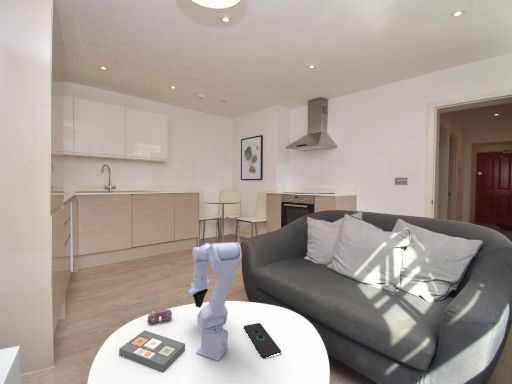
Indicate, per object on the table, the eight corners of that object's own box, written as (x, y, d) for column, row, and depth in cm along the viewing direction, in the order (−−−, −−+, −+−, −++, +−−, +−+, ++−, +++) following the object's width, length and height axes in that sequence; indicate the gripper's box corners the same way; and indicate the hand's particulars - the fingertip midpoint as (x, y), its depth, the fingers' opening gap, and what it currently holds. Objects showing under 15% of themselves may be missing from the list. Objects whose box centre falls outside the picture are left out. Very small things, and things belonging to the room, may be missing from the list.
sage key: (175, 352, 94) (175, 348, 94) (167, 360, 90) (167, 356, 90) (165, 349, 96) (165, 345, 95) (157, 356, 91) (157, 352, 91)
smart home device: (260, 322, 117) (282, 351, 98) (259, 325, 117) (281, 355, 98) (242, 325, 113) (262, 356, 95) (242, 329, 113) (261, 360, 95)
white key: (162, 345, 96) (162, 341, 96) (153, 352, 92) (153, 348, 92) (152, 342, 98) (152, 338, 97) (143, 349, 93) (143, 345, 93)
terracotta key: (149, 343, 98) (149, 339, 98) (140, 350, 94) (140, 346, 94) (139, 340, 100) (139, 336, 100) (130, 347, 95) (130, 343, 95)
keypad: (184, 350, 97) (185, 343, 97) (163, 372, 86) (163, 364, 86) (144, 336, 104) (144, 329, 104) (119, 355, 92) (119, 347, 92)
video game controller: (147, 327, 112) (149, 317, 109) (147, 318, 116) (148, 307, 112) (171, 322, 117) (173, 312, 114) (170, 313, 120) (172, 303, 117)
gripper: (201, 267, 118) (199, 297, 119) (181, 279, 105) (180, 312, 105) (215, 270, 116) (213, 300, 117) (196, 282, 102) (195, 316, 103)
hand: (198, 306), depth 111 cm, fingers closed
